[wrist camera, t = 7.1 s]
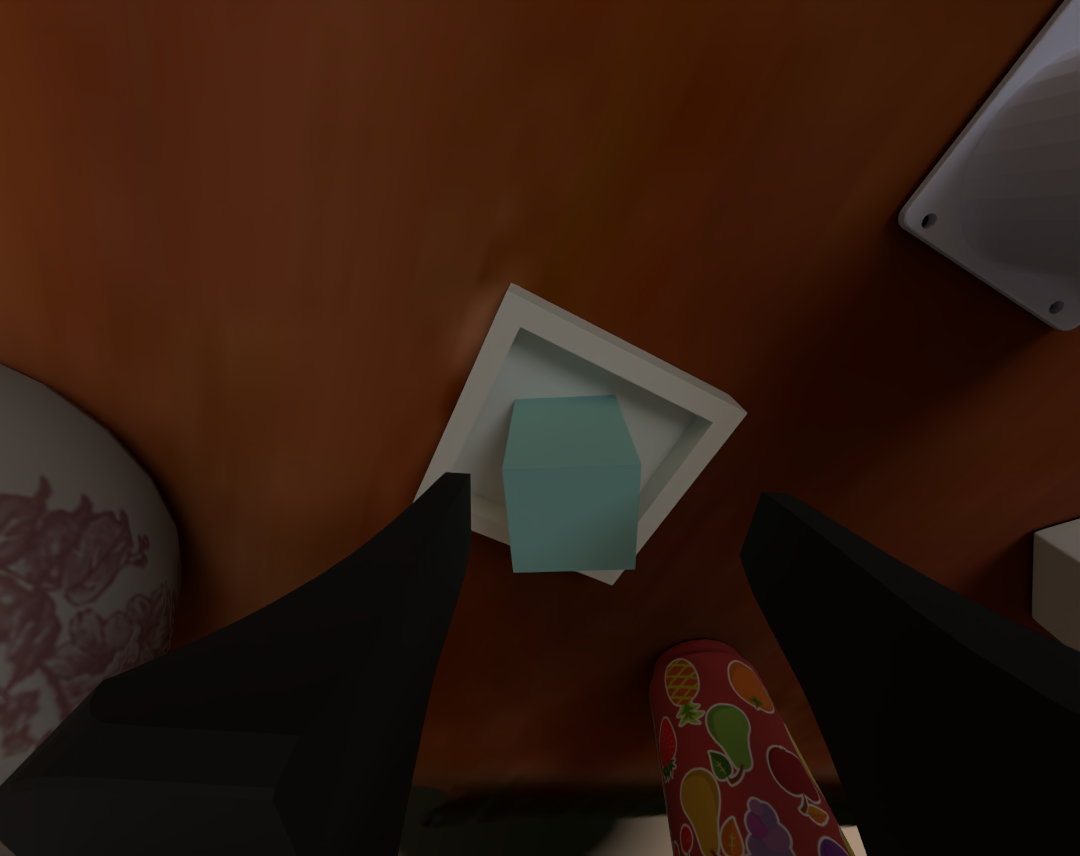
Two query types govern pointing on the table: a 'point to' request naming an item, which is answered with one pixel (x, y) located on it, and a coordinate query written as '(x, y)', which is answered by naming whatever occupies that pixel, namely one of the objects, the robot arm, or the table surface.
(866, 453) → the table surface
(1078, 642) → the milk carton
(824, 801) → the smoothie
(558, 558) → the block
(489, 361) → the tray
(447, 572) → the robot arm
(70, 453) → the chamber pot
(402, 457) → the table surface
